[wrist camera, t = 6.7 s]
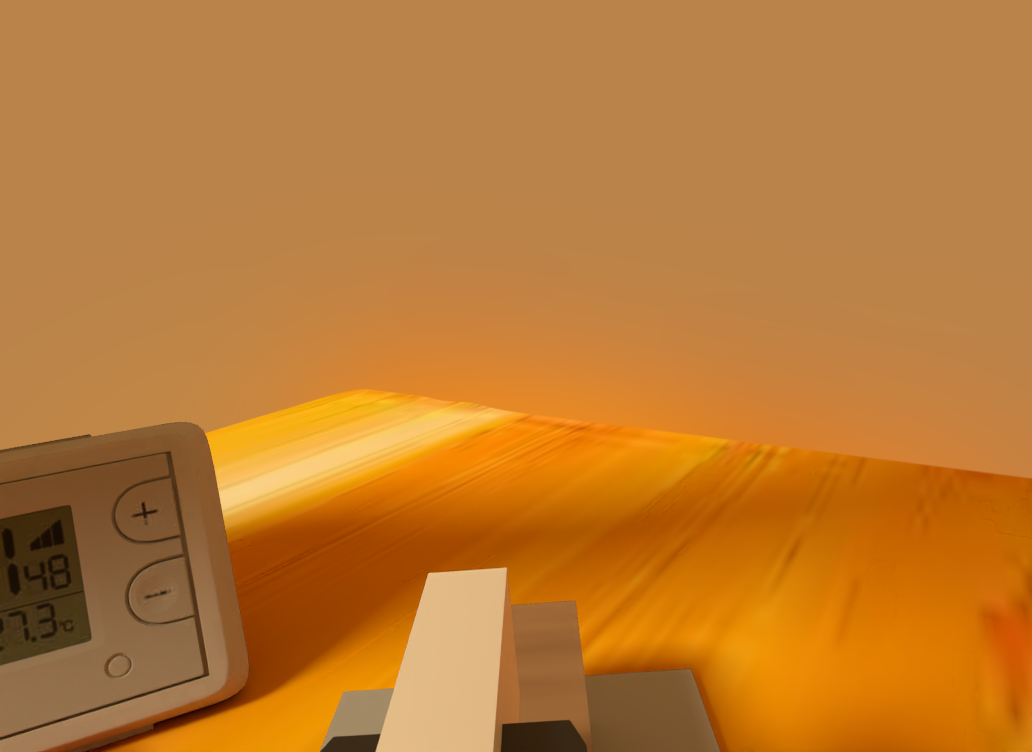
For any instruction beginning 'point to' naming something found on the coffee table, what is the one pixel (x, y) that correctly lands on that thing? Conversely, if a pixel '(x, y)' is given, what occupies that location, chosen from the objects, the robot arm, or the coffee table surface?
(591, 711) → the felt mat
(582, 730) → the walnut block
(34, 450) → the digital clock
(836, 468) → the coffee table surface
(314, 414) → the coffee table surface
